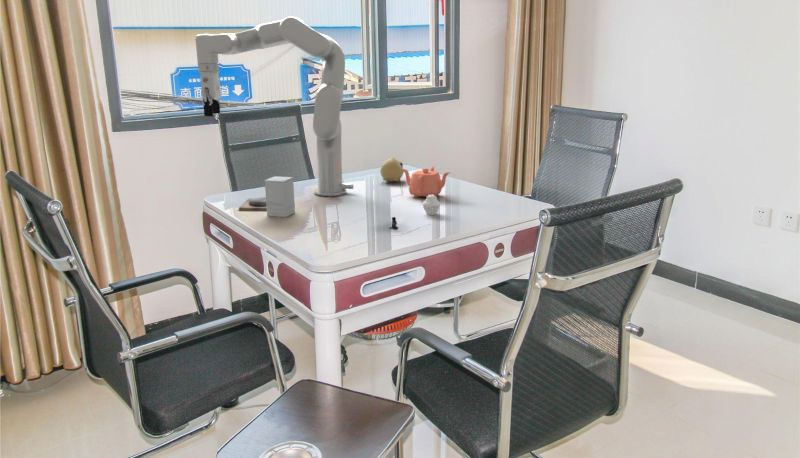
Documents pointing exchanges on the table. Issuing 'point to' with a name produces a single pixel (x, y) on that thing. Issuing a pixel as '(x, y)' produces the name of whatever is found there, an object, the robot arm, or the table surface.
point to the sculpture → (393, 224)
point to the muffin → (431, 205)
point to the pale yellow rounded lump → (392, 170)
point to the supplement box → (280, 196)
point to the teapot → (425, 182)
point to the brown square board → (254, 204)
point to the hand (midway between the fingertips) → (212, 114)
